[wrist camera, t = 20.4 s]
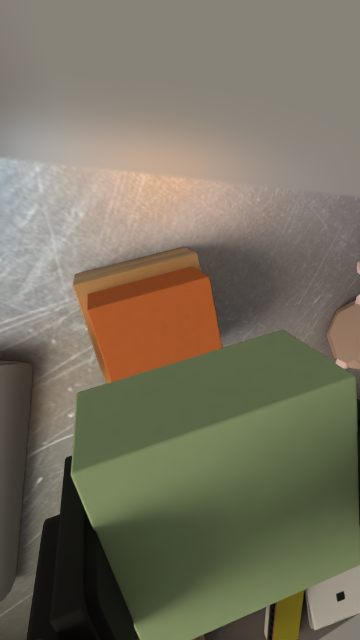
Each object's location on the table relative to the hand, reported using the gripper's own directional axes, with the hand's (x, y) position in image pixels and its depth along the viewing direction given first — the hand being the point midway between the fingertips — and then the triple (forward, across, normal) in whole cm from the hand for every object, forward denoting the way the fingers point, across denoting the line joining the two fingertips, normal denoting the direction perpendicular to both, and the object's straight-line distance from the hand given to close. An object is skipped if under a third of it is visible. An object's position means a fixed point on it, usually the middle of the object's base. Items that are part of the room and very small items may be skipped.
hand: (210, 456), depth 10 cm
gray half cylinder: (+14, +13, +9) cm, 21 cm away
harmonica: (+12, -6, +34) cm, 36 cm away
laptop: (+14, -12, +36) cm, 41 cm away
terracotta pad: (+11, 0, 0) cm, 11 cm away
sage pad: (+1, 0, 0) cm, 1 cm away
